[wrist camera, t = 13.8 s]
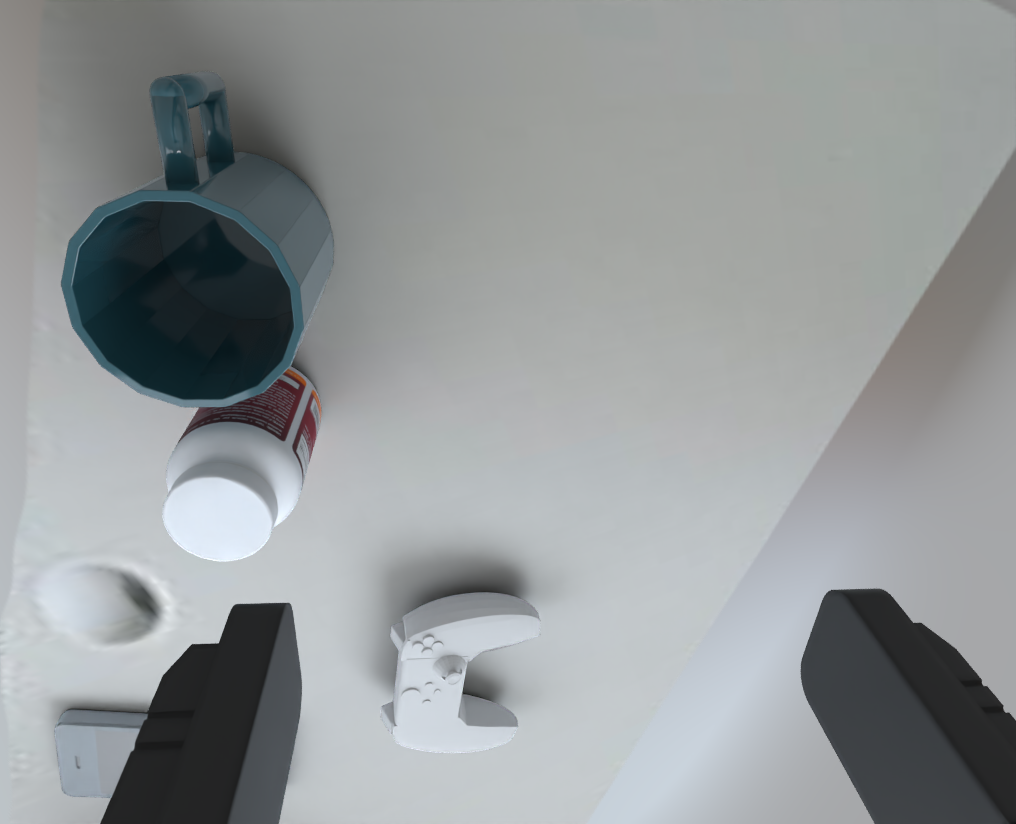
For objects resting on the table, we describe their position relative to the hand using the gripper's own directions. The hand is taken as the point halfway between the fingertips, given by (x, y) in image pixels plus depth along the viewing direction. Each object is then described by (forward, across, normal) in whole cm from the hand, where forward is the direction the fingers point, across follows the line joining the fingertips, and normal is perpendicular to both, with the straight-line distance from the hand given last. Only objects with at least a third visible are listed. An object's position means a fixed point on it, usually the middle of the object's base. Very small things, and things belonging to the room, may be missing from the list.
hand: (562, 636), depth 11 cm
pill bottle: (+29, +12, +12) cm, 34 cm away
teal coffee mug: (+29, +12, 0) cm, 32 cm away
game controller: (+29, 0, +32) cm, 43 cm away
